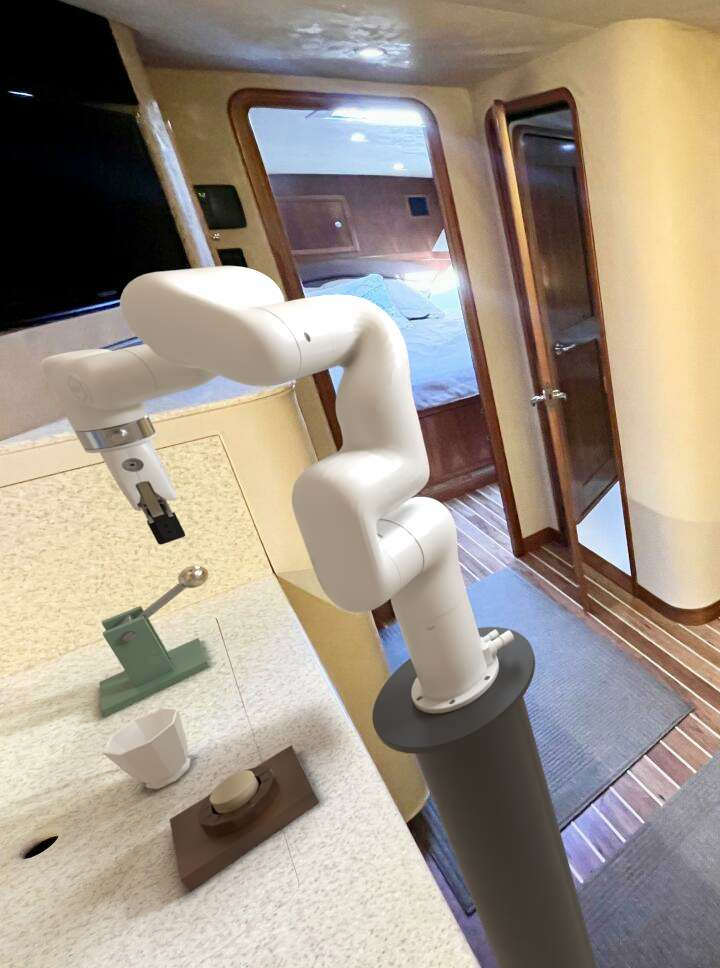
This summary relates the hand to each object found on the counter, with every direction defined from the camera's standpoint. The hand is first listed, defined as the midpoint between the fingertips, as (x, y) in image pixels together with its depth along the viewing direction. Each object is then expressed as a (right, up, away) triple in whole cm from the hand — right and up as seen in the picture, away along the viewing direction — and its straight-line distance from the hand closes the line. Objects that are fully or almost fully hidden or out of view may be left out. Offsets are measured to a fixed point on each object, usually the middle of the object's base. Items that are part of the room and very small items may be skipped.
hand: (172, 538), depth 85 cm
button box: (+31, -29, -21) cm, 48 cm away
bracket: (-4, -23, +2) cm, 23 cm away
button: (+31, -26, -22) cm, 46 cm away
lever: (-1, -11, +2) cm, 12 cm away
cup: (+14, -28, -14) cm, 34 cm away
